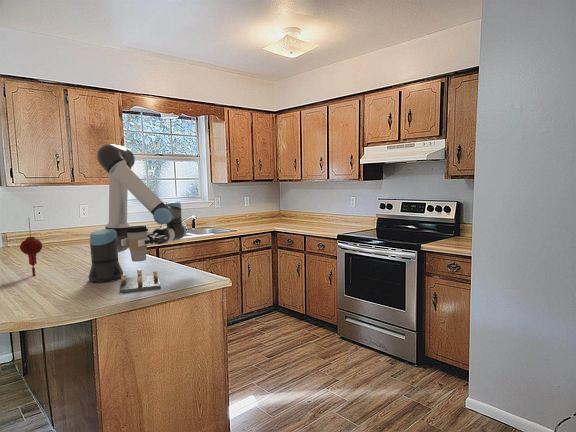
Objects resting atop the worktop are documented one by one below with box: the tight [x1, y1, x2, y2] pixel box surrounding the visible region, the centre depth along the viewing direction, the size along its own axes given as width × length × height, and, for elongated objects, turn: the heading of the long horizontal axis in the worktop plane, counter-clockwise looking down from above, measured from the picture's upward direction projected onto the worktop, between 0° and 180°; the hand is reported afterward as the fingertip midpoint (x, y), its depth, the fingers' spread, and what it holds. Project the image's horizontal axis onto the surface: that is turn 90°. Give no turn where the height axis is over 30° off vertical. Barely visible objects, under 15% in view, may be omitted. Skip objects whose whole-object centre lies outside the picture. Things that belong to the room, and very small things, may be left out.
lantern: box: [19, 216, 43, 277], centre depth 192 cm, size 10×10×30 cm
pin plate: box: [119, 269, 161, 295], centre depth 169 cm, size 20×16×6 cm
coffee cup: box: [126, 225, 149, 263], centre depth 167 cm, size 9×9×15 cm
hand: (130, 243), depth 163 cm, fingers closed on coffee cup, 8 cm apart
